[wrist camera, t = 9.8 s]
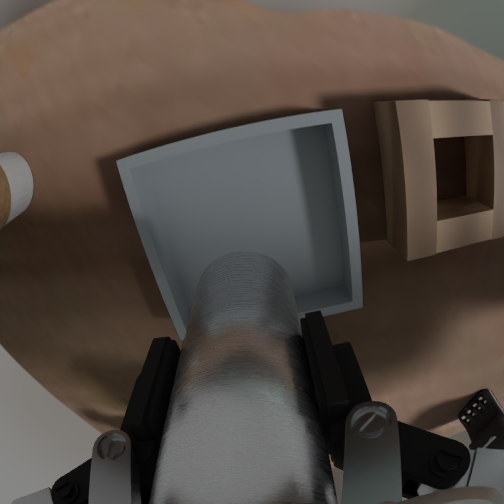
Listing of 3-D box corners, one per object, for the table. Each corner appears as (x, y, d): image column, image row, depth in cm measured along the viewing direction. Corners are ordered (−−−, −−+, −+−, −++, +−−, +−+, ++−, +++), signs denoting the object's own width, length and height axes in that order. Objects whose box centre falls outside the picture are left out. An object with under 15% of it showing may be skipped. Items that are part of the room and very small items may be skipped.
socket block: (480, 98, 19) (510, 101, 15) (484, 218, 23) (510, 234, 20) (372, 102, 20) (395, 100, 16) (387, 239, 24) (407, 261, 21)
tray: (330, 109, 20) (341, 108, 18) (352, 287, 26) (362, 307, 23) (131, 154, 21) (116, 160, 19) (186, 318, 27) (180, 340, 25)
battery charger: (479, 386, 34) (511, 443, 23) (491, 387, 34) (523, 440, 24) (451, 418, 36) (476, 474, 26) (464, 417, 37) (490, 469, 26)
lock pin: (283, 242, 14) (356, 573, 2) (298, 322, 15) (346, 581, 4) (185, 262, 14) (95, 563, 3) (212, 338, 16) (185, 589, 5)
